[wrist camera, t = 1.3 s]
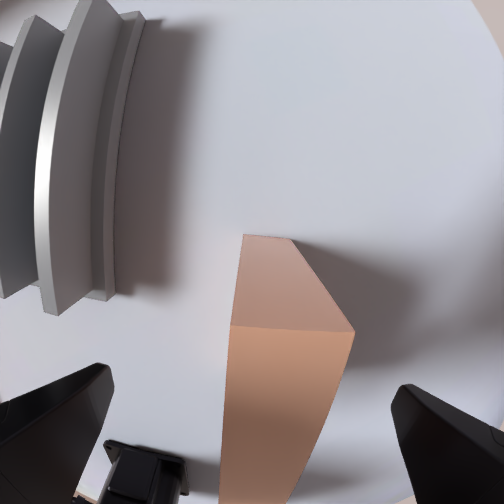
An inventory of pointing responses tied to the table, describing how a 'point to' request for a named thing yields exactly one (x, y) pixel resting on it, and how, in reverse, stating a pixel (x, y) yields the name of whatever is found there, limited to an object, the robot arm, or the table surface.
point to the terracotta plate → (277, 371)
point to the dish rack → (63, 152)
